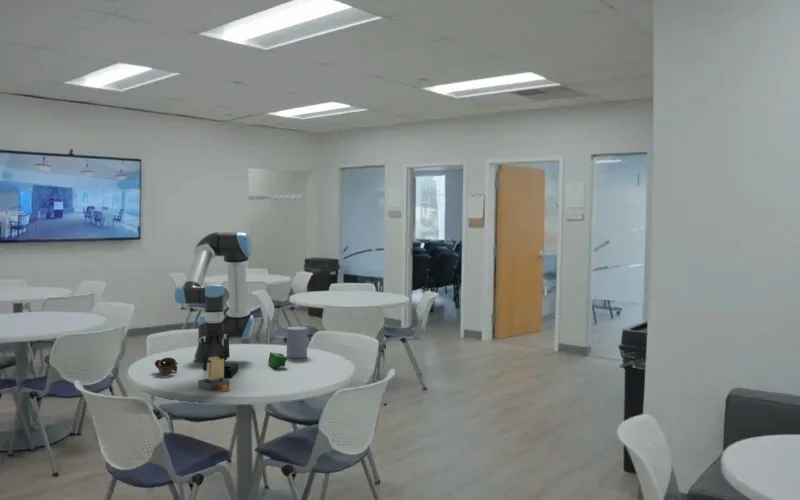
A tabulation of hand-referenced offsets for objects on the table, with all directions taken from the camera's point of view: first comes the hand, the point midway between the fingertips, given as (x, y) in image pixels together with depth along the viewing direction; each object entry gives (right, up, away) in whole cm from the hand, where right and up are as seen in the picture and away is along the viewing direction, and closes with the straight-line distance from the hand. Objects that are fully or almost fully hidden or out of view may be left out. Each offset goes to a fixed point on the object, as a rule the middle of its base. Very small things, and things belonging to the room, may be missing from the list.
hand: (213, 376), depth 266 cm
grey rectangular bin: (+2, -5, -1) cm, 5 cm away
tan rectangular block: (0, 0, 0) cm, 0 cm away
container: (+24, -3, +63) cm, 68 cm away
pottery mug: (-29, -4, +23) cm, 37 cm away
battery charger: (-2, -4, +23) cm, 23 cm away
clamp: (+17, -4, +42) cm, 46 cm away
